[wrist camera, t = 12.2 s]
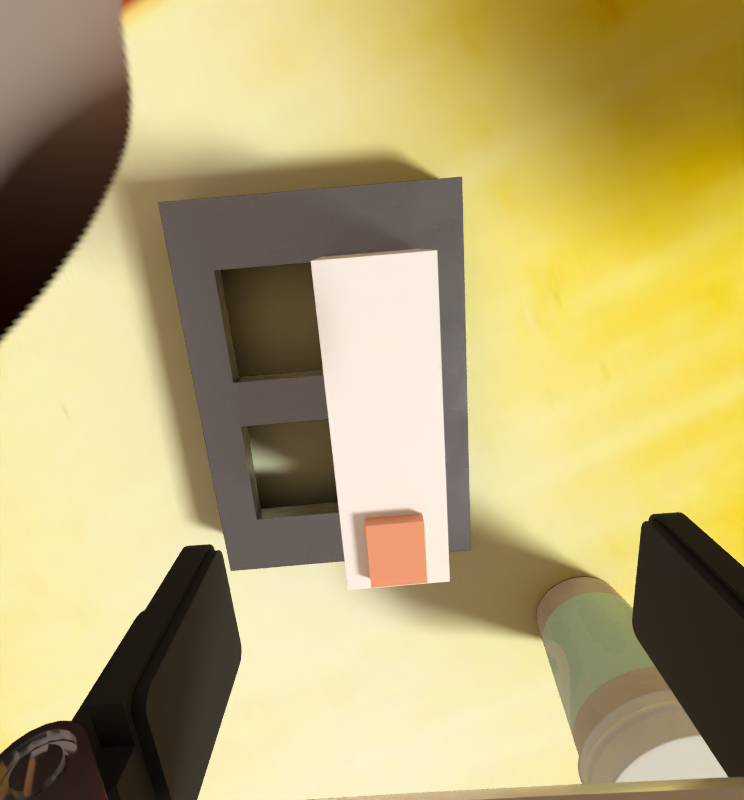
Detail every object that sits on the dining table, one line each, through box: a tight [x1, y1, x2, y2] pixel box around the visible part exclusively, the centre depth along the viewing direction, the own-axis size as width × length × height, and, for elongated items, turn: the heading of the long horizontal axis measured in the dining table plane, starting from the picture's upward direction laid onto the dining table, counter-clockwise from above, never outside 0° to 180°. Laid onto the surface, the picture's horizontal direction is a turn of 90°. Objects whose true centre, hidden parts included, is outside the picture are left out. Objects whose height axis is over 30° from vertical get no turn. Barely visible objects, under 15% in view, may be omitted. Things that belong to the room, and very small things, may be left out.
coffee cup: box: [536, 577, 728, 784], centre depth 29 cm, size 8×9×12 cm
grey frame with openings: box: [158, 177, 471, 571], centre depth 27 cm, size 14×20×3 cm
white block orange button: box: [311, 249, 450, 590], centre depth 24 cm, size 4×14×10 cm, turn 4°
